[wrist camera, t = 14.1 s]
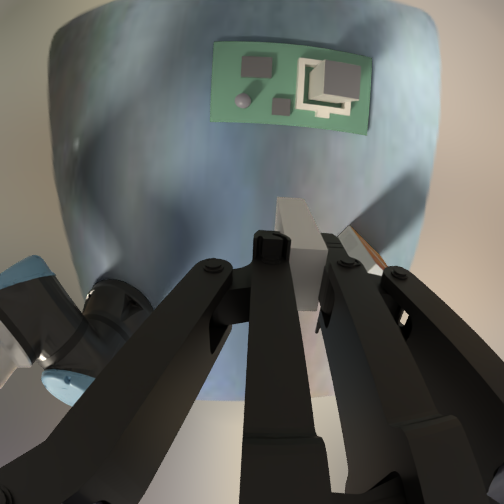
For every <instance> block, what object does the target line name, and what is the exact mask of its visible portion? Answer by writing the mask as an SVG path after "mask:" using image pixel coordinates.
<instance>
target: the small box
mask: <svg viewBox="0 0 504 504" xmlns="http://www.w3.org/2000/svg"><path fill="white" fill-rule="evenodd" d="M338 238H339V240H340V241H341V243H342V245H343V247H344V248H345V250H346V252H347V254H348V255H349V257H352V258H355V259H357V260H359V261H360V262H361V263H362V264H363V265H364V267H365V269H366V270H367V272H368V273H371V274H375V275H380V276H382V273H383V270H384V269H385V268H386V267H388V266H387V265H386V263H385V262H384V260H383V259H382V257H381V256H380V255H379V253H378V252H376V251H375V250H374V249H373V248H372V247H371V246H370V245H369V244H368V243H367V242H366V241H365V240H364V239H363V238H362V237H361V236H360V235H359V234H358V233H357V232H356V231H355V230H354V229H353V228H352V227H351V226H350V225H349V226H348V227H347V228H346V229H345V230H344V231H343V232H342V233H341V234H340V235H339V236H338Z"/></svg>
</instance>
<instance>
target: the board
mask: <svg viewBox="0 0 504 504" xmlns="http://www.w3.org/2000/svg"><path fill="white" fill-rule="evenodd" d="M323 60H330V61H336V62H342V63H347V64H352V65H357V66H361V79H360V96H359V101H351V102H344V103H329V102H322V101H315V100H308V89H309V73H310V72H311V71H312V70H313V69H314V68H315V67H316V66H317V65H319V64H320V63H321V62H322V61H323ZM371 70H372V58H370V57H366V56H361V55H357V54H352V53H347V52H342V51H336V50H330V49H324V48H317V47H310V46H302V45H293V44H282V43H268V42H237V41H229V42H214V48H213V64H212V83H211V107H210V122H242V123H263V124H278V125H290V126H301V127H310V128H319V129H327V130H335V131H342V132H348V133H355V134H361V135H366V136H367V128H368V117H369V105H370V90H371Z"/></svg>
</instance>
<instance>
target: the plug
mask: <svg viewBox="0 0 504 504" xmlns="http://www.w3.org/2000/svg"><path fill="white" fill-rule="evenodd" d="M360 79H361V66H357V65H352V64H347V63H342V62H336V61H330V60H323V61H322V62H321V63H320V64H319V65H317V66H316V67H315V68H314V69H313V70H312V71H311V72H310V73H309V89H308V100H315V101H322V102H329V103H344V102H351V101H359V96H360Z"/></svg>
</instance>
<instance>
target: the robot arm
mask: <svg viewBox="0 0 504 504" xmlns="http://www.w3.org/2000/svg"><path fill="white" fill-rule="evenodd" d="M318 302H320V306H321V308H320V312H319V317H318V321H317V326H316V331H315V333H318V331H319V329H320V328H321V331H322V335H323V339H324V344H325V348H326V353H327V357H328V362H329V367H330V371H331V376H332V381H333V386H334V391H335V396H336V400H337V406H338V411H339V417H340V422H341V428H342V433H343V438H344V445H345V451H346V456H347V463H348V477H347V481H346V487H345V494H344V493H332V492H331V484H330V476H329V468H328V460H327V452H326V448H325V443H324V441H323V439H322V437H319V436H317V435H316V432H315V427H314V419H313V412H312V404H311V396H310V389H309V382H308V374H307V367H306V361H305V354H304V347H303V341H302V334H301V328H300V322H299V316H298V311H317V306H318ZM404 310H405V311H406V313H407V314H408V315H409V316H408V319H407V321H406V323H405V325H403V324H402V323H401V322H400V319H401V317H402V314H403V311H404ZM243 322H249V334H248V352H247V370H246V389H245V408H244V425H243V442H242V459H241V460H242V461H241V477H240V495H239V504H504V362H503V361H502V360H501V359H500V357H499V356H498V355H497V354H496V353H495V352H494V351H493V350H492V349H491V348H490V347H489V346H488V345H487V344H486V343H485V342H484V340H483V339H482V338H481V337H480V336H479V335H478V334H477V333H476V332H475V331H474V330H473V329H471V327H469V325H468V324H467V323H466V322H465V321H464V320H462V318H460V317H459V316H458V315H457V314H456V313H455V312H454V311H453V310H452V309H451V308H450V307H449V306H448V305H447V304H445V302H444V301H443V300H441V299H440V298H439V297H438V296H437V295H436V294H435V293H434V292H433V291H431V290H430V289H429V288H428V287H427V286H426V285H425V284H424V283H423V282H421V281H420V280H419V279H418V278H417V277H416V276H415V275H413V274H412V273H411V272H409V271H408V270H406V269H404V268H403V267H400V266H399V267H398V266H389V267H386V268H385V269H384V270H383V273H382V276H380V275H375V274H371V273H368V272H367V270H366V269H365V267H364V265H363V264H362V263H361V262H360V261H359V260H357V259H355V258H352V257H349V255H348V254H347V252H346V250H345V248H344V247H343V245H342V243H341V241H340V240H339V238H338V237H336V236H335V235H333V234H328V233H320V231H319V229H318V227H317V225H316V223H315V221H314V219H313V217H312V215H311V213H310V210H309V208H308V206H307V204H306V202H305V200H304V199H300V198H286V197H277V207H276V220H275V231H265V230H258V231H257V232H256V233H255V234H254V240H253V260H252V262H251V263H250V264H249V265H247V266H245V267H242V268H237V269H233V267H232V265H231V263H229V262H228V261H226V260H222V259H216V258H211V259H210V258H209V259H205V260H202V261H200V262H198V263H197V264H196V265H195V266H194V267H193V268H192V269H191V270H190V271H189V272H188V273H187V274H186V275H185V277H184V278H183V279H182V280H181V281H180V282H179V283H178V284H177V285H176V286H175V288H174V289H173V290H172V291H171V292H170V293H169V294H168V295H167V296H166V298H165V299H164V300H163V301H162V302H161V303H160V304H159V305H158V306H157V308H156V309H155V310H154V311H153V308H152V306H151V304H150V303H149V301H148V300H147V299H146V297H145V296H144V295H143V294H142V293H141V292H139V291H138V290H137V289H136V288H134V287H133V286H131V285H129V284H127V283H125V282H122V281H119V280H112V279H108V280H102V281H100V282H98V283H96V284H95V285H94V286H93V288H92V289H91V290H90V291H89V293H88V295H87V297H86V300H85V304H84V308H83V312H82V313H81V311H80V310H79V309H78V307H77V306H76V305H75V303H74V302H73V301H72V299H71V298H70V297H69V295H68V294H67V292H66V291H65V290H64V288H63V287H62V285H61V284H60V282H59V281H58V279H57V278H56V275H55V274H54V273H53V272H52V271H51V270H50V269H49V267H48V266H47V264H46V263H45V262H44V260H43V259H42V258H41V257H40V256H37V255H32V256H29V257H27V258H25V259H23V260H21V261H19V262H18V263H16V264H14V265H13V266H11V267H9V268H8V269H6V270H5V271H4V272H2V273H1V274H0V389H1V388H2V386H3V385H4V384H5V382H6V381H7V380H8V378H9V377H10V376H11V374H12V373H13V371H14V370H15V369H16V368H18V367H31V366H32V364H33V363H34V362H35V361H37V362H38V363H39V365H40V366H41V367H42V368H43V369H44V371H43V372H42V378H41V379H42V383H43V384H44V386H45V388H46V389H47V390H48V391H49V392H50V393H51V394H52V395H54V396H55V397H56V398H58V399H59V400H61V401H62V402H64V403H66V404H68V405H70V406H72V408H71V409H70V410H69V412H68V413H67V414H66V415H65V417H64V418H63V419H62V420H61V421H60V423H59V424H58V425H57V426H56V428H55V429H54V430H53V432H52V433H51V434H50V435H49V437H48V438H47V439H46V440H45V441H44V442H42V443H41V444H39V445H38V446H36V447H34V448H33V449H31V450H30V451H28V452H26V453H25V454H23V455H21V456H20V457H18V458H16V459H15V460H13V461H11V462H10V463H8V464H6V465H5V466H3V467H1V468H0V504H138V503H139V501H140V500H141V498H142V497H143V495H144V494H145V492H146V490H147V488H148V486H149V485H150V483H151V481H152V479H153V478H154V476H155V474H156V472H157V470H158V468H159V467H160V465H161V462H162V461H163V459H164V457H165V455H166V454H167V452H168V450H169V448H170V446H171V444H172V443H173V441H174V439H175V437H176V435H177V433H178V431H179V429H180V428H181V426H182V424H183V422H184V420H185V418H186V416H187V415H188V413H189V411H190V409H191V407H192V405H193V403H194V401H195V399H196V397H197V396H198V394H199V392H200V390H201V388H202V386H203V384H204V382H205V380H206V378H207V376H208V375H209V373H210V371H211V369H212V367H213V365H214V363H215V361H216V359H217V357H218V355H219V353H220V351H221V349H222V347H223V345H224V344H225V342H226V340H227V338H228V336H229V334H230V332H231V329H232V324H238V323H243Z"/></svg>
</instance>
